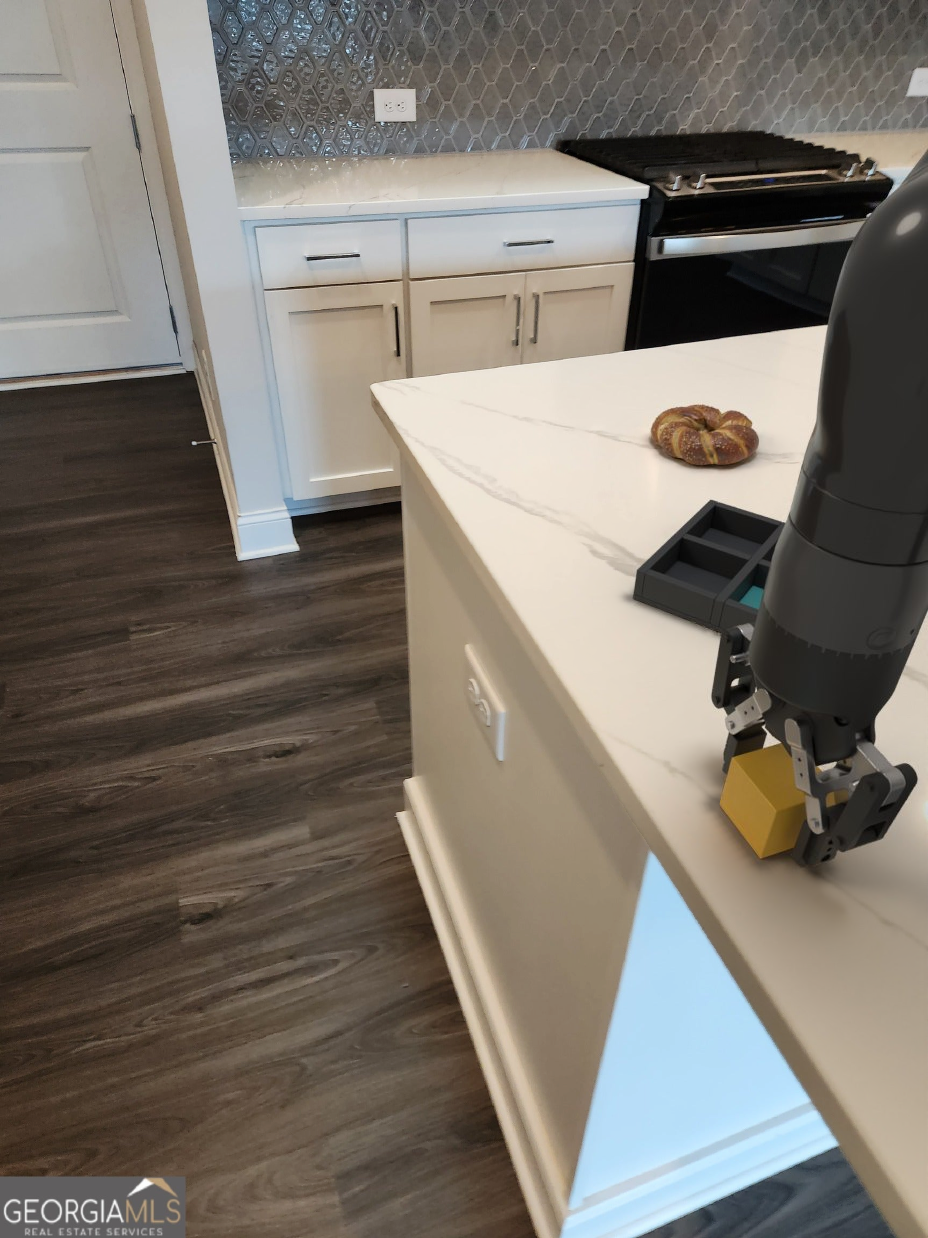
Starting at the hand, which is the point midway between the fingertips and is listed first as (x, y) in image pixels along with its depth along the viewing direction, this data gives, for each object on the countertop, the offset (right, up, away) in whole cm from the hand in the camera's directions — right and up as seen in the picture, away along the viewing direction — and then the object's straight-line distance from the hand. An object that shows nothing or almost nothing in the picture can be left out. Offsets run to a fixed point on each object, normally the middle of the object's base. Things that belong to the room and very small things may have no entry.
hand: (771, 813), depth 52 cm
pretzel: (+8, +32, +42) cm, 53 cm away
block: (0, -1, 0) cm, 1 cm away
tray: (+6, +15, +20) cm, 26 cm away
